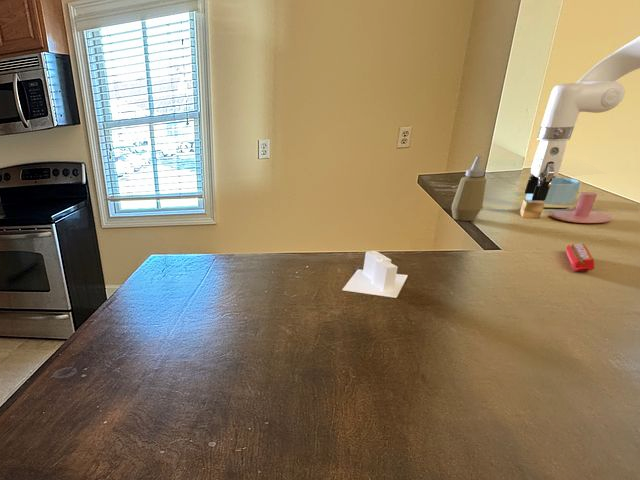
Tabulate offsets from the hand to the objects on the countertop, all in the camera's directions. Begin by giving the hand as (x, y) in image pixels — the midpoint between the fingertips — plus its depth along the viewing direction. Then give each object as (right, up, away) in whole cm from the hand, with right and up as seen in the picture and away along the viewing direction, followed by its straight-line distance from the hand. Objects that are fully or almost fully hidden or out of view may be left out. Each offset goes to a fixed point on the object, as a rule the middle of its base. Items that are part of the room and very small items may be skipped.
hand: (534, 196), depth 143 cm
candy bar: (-16, -27, -33) cm, 45 cm away
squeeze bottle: (-18, -5, +5) cm, 20 cm away
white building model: (-63, -32, -35) cm, 79 cm away
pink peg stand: (+11, -7, -3) cm, 13 cm away
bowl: (+14, +2, +12) cm, 19 cm away
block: (+1, -5, +3) cm, 6 cm away
